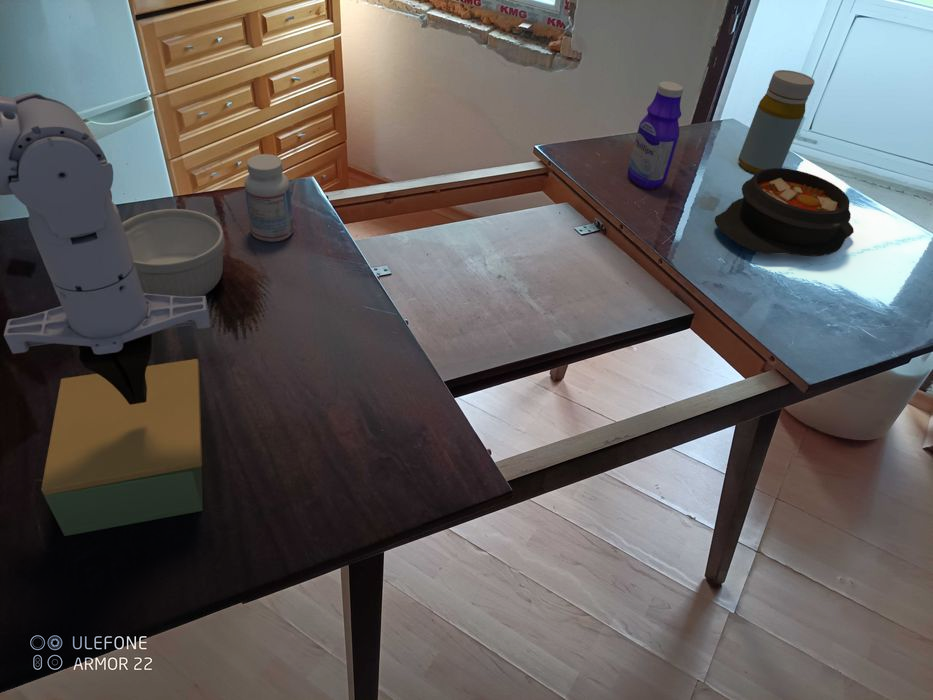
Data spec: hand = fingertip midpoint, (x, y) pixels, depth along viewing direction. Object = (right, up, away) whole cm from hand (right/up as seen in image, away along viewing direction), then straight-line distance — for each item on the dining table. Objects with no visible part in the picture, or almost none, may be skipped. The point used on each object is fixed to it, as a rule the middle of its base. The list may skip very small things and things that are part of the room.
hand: (138, 395), depth 60 cm
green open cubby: (-3, -7, +7) cm, 11 cm away
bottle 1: (+61, +34, +64) cm, 95 cm away
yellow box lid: (-2, -3, +3) cm, 5 cm away
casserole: (+81, +23, +54) cm, 100 cm away
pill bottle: (0, +21, +40) cm, 46 cm away
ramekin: (-9, +13, +30) cm, 34 cm away
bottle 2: (+86, +40, +74) cm, 120 cm away
